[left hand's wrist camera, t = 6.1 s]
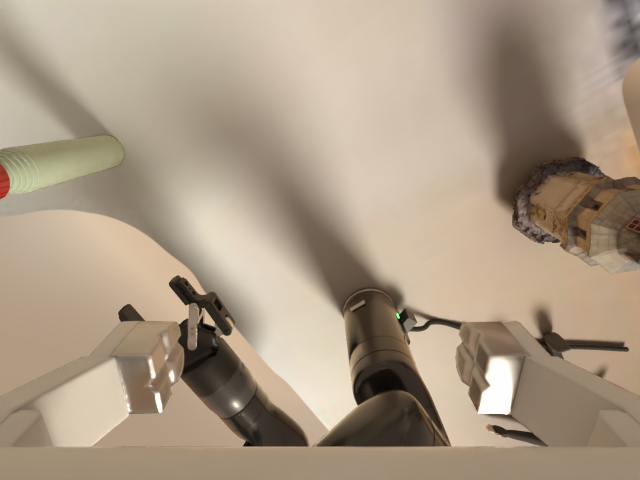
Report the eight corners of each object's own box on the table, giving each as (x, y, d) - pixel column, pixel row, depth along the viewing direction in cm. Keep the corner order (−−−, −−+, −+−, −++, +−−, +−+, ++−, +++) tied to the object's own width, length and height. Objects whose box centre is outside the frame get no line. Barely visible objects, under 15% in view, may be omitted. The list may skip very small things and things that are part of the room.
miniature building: (607, 181, 57) (888, 255, 29) (546, 250, 61) (739, 373, 33) (546, 136, 54) (788, 169, 26) (486, 211, 59) (640, 308, 30)
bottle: (95, 129, 54) (-55, 146, 33) (127, 142, 55) (1, 166, 33) (90, 160, 56) (-56, 194, 34) (121, 171, 56) (-3, 212, 35)
